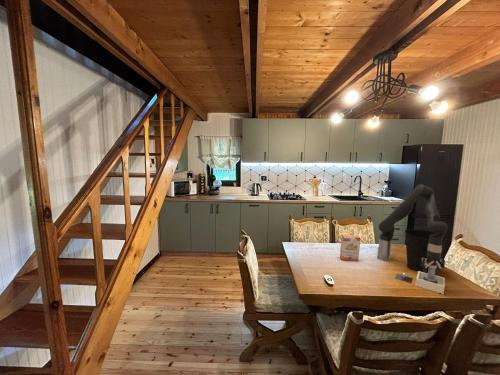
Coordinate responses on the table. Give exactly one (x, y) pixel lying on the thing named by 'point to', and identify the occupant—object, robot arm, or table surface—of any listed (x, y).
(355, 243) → the cracker box
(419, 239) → the bucket
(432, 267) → the knob
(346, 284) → the table surface
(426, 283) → the parts tray
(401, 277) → the stud mount
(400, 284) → the table surface
